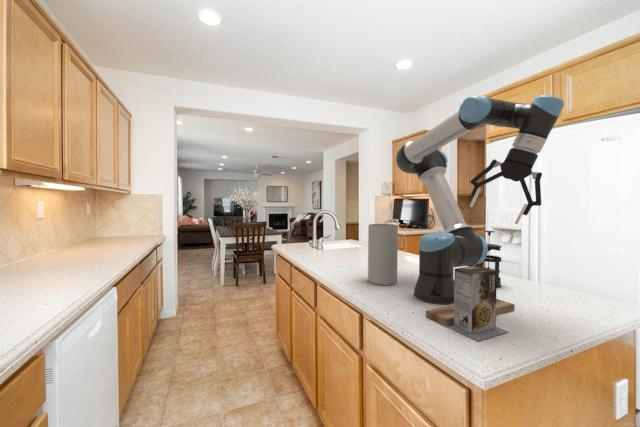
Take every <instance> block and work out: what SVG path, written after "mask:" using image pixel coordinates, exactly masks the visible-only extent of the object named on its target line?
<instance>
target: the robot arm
mask: <svg viewBox="0 0 640 427" xmlns="http://www.w3.org/2000/svg"><path fill="white" fill-rule="evenodd" d="M564 105H565V102H564V100H563V99H561V98H560V97H557V96H553V95H548V94H546V95H544V94H542V95H538V96H536V97H534V100H533V101H532V102H529V103H522V102H513V101H508V100H504V99H503V100H502V99H495V98H491V97H487V96H483V95H470V96H468V97H466V98H465V99H463V101H462V103H461V104H460V105H459V110H458V111H457V112H455V113H454V114H452V115H451V116H449V117H448V118H446V119H444V120H443V121H442V122H440V123H439V124H437V125H436V126H434V127H433V128H431V129H429V131H427V132H425V133H424V134H423V135H421V136H420V137H418V138H416V139H415V140H409V141H407V142H406V143H404V144H403V145H402V146H401V147H400V148H399V149H398V151H397V152H396V155H395V162H396V166H397V168H398V169H399V170H400V171H402V172H404V173H406V174H415V175H417V178H418V179H419V180H418V181H419V182H420V183H423V184H424V185H425V188H426V191H427V193H428V195H429V197H430V200H431V203H432V204H433V205H432V206H433V207H434V208H433V209H434V211H435V213H436V215H437V218H438V220H439V223H440V225H441V227H442V230H443V231H441V232H439V231H438V232H429V233H426V234H423V235H422V236H421V237H420V240H419V246H418V248H419V250H418V251H419V252H418V253H419V258H418V259H419V262H418V263H419V265H418V267H419V268H418V271H419V272H418V277H417V279H416V283H415V286H414V288H413V296H414V298H416V299H418V300H420V301H423V302H426V303H427V302H428V303H431V304H439V305H452V304H454V269H455V268H463V267H472V266H476V265H477V264H480V263H482V262H483V263H484V262H485V261H484V260H485V258H486V255H488V246H487V244H488V243H487V240H486V239H485V238H484V237H482V236H481V235H479V234H476V232H475V230H474V227H472V225H469V224H467V223H466V221H465V219H464V216H463V214H462V212H461V209H460V207H459V206H458V202H457V200H456V198H455V196H454V194H453V191H452V190H451V187H450V185H449V182H448V180H447V178H446V176H445V175H446V173H447V167H448V163H449V162H448V160H449V159H448V156H447V155H446V153H445V152H444V151H443V150H441V149H440V148H443V147H445V146H446V145H448V144H449V143H451V142H453V141H455V140H457V139H458V138H460V137H462V136H463V135H466V134H467V133H469V132H471V131H473V130H475V128H478V127H479V126H482V125H487V126H494V127H501V128H502V127H503V128H509V129H517V130H518V133H517V134H516V136H515V139H514V140H513V143H512V146H511V148H509V151H508V152H507V155H506V157H505V160H504V161H503V162H501V161H498V160H497V159H493V160H491V162H490V164H489V165H488V166H487V167H485V169H483V170H482V171H481V172H479V173H478V174H477V175H476V176H475V177H474V178H472V179H471V180H470V182H469V183H470V184H471V185H472V186H473V188H472V191H471V194H470V196H471V197H472V199H471V202H470V204H469V207H470V208H473V207H474V205H475V203H476V201H477V199H478V197H479V194H480V192H481V190H482V188H480V187H482V186H484V185H486V184H488V183H491V182H493V181H495V180H497V179H498V178H499V179H500V177H503V178H504V179H506V180H511V181H513V182H520V185H521V188H522V190H523V193H524V197H525V199H526V200H527V203H524V204H523V206H522V208H521V210H520V212H519V214H518V216H517V217H516V219H515V221H514V225H518V224H519V222H520V220H521V218H522V216H523V215H524V216H527V215H528V214H529V212H530V211H531V209H532V207H534V206H535V207H536V206H538V207H540V206H542V192H541V191H542V190H541V179H542V176H543V173H542V172H538V171H537V172H536V171H532V169H533V167H534V165H535V163H536V161H537V159H538V157H539V155H538V154H539V153H541V152H542V149H543V148H544V146H545V144H546V143H547V139H548V137H549V136H550V133H551V131H552V130H553V128H554V126H555V125H556V122H557V121H558V119H559V118H560V115H561V113H562V110H563V108H564ZM499 166H500V172H497V173H496V174H493V175H492V176H490V177H487V178H486V179H483V180H481V179H482V178H483V177H484V176H485V175H487V174H488V173H489V172H490V171H492V170H493V169H494V168H498V167H499ZM530 175H531V176H532V179H533V180H534V193H535V201H533V198H532V196H531V193H530V191H529V188H528V185H527V183H526V180H525V179H526V178H527V177H529V176H530ZM479 180H481V181H479ZM478 181H479V182H478Z"/></svg>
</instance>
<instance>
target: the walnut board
mask: <svg viewBox="0 0 640 427" xmlns="http://www.w3.org/2000/svg"><path fill="white" fill-rule="evenodd" d="M514 311H515V303H513V302H512V303H511V302H508V301H505V300H503V299H502V300H501V299H499V298H496V316H497V315H502V314H507V313H510V312H514ZM425 318H428V319H429V320H432V321H434V322H435V323H438V324H439V325H440V324H441V326H444V327H447V328H448V326H452V325H454V304H448V305H444V306H440V307H435V308H431V309H430V308H429V309H426V310H425Z"/></svg>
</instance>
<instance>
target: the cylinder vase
mask: <svg viewBox="0 0 640 427" xmlns="http://www.w3.org/2000/svg"><path fill="white" fill-rule="evenodd" d="M367 229H368V235H367V236H368V239H367V240H368V241H367V243H368V244H367V254H368V256H367V281H368V282H369V283H370V284H374V285H376V286H377V285H378V286H391V285H395V284H396V283H398V248H399V246H398V245H399V244H398V243H399V242H398V241H399V240H398V238H399V236H398V235H399V225H398V224H393V223H370V224H369V223H368V228H367Z"/></svg>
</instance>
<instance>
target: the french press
mask: <svg viewBox="0 0 640 427" xmlns="http://www.w3.org/2000/svg"><path fill="white" fill-rule="evenodd" d="M483 233H487V236H488V243H487V246H488V253H487V255H486V258H485V260H484V261H483V262H482V263H480V264H477V265H475V266H480V267H484V262H487V267H486V268H488V269H491V270H495V271H497V277H496V289H500V288H502V284H501V282H502V278H501V277H500V272H501V270H500V262H502V257H501V256H496V255H492V254H491V255H490V252H491V251H492V250H493V251H494V250H495V251H499V252H500V251H501V248H503V246H502V245H501V244H500V245H499V244H493V243H491V241H490V240H491V239H490V238H491V237H490V236H491V235H492V234H491V233H495V230H494V231H493V230H484V231H483ZM490 263H494V268H491V267H490Z"/></svg>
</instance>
